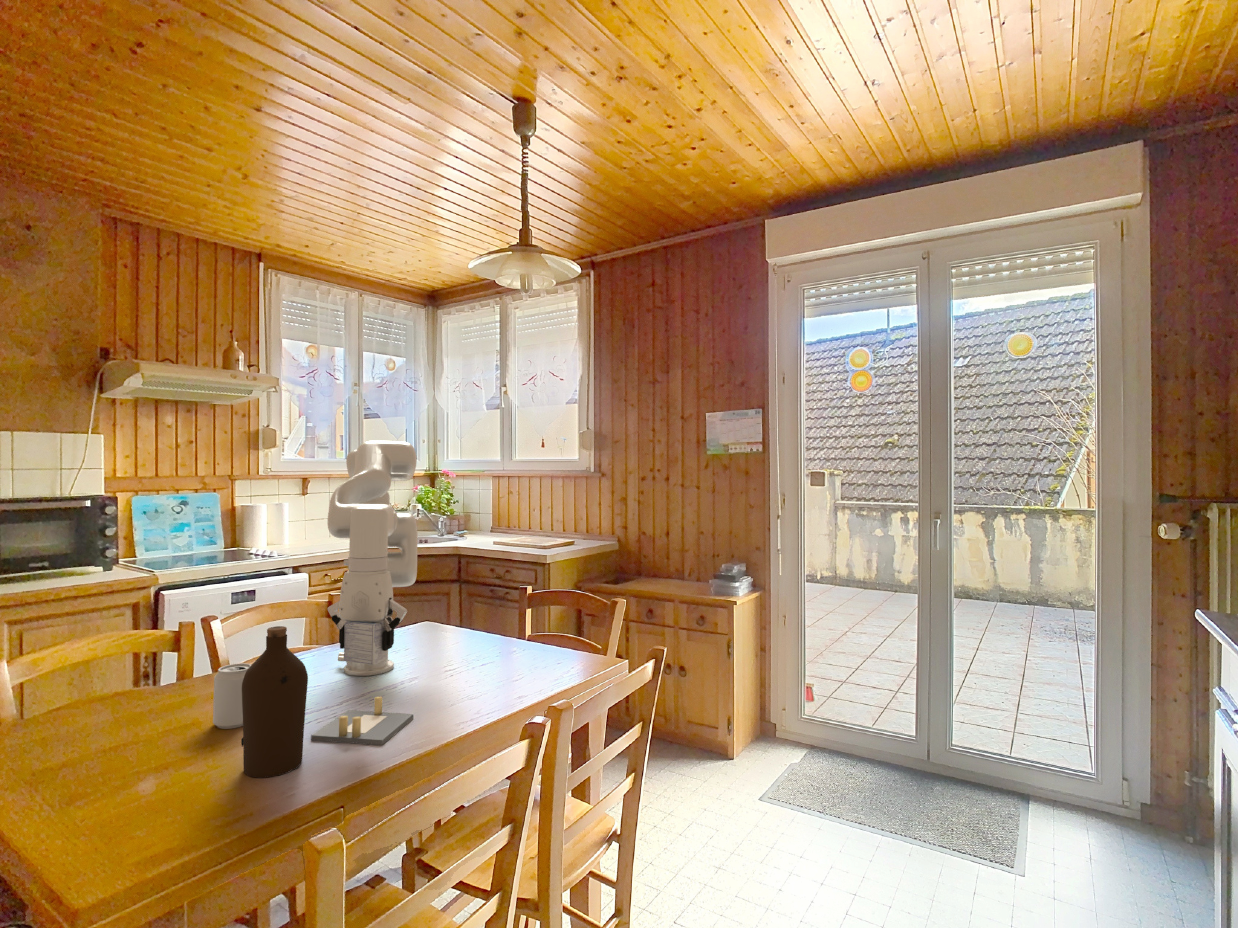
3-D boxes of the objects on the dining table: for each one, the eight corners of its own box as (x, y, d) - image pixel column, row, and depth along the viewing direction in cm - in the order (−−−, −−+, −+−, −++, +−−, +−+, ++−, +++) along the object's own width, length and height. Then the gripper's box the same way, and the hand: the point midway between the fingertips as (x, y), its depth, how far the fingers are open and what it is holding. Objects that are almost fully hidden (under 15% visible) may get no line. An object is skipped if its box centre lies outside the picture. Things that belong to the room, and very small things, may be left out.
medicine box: (388, 660, 135) (389, 619, 135) (373, 666, 131) (374, 623, 131) (358, 656, 138) (359, 615, 138) (342, 661, 133) (344, 619, 134)
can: (262, 719, 138) (263, 663, 139) (231, 732, 131) (232, 673, 131) (236, 714, 141) (237, 659, 141) (204, 727, 134) (205, 669, 134)
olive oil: (318, 757, 120) (322, 623, 121) (274, 783, 110) (278, 637, 110) (272, 750, 123) (275, 619, 124) (224, 774, 113) (228, 632, 113)
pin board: (310, 740, 128) (311, 717, 128) (348, 714, 142) (349, 693, 142) (382, 744, 126) (382, 722, 126) (413, 718, 140) (413, 697, 140)
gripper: (319, 566, 132) (317, 650, 132) (399, 568, 130) (397, 654, 130) (339, 561, 140) (337, 641, 139) (415, 564, 137) (413, 645, 137)
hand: (366, 647), depth 134 cm, fingers closed on medicine box, 8 cm apart
